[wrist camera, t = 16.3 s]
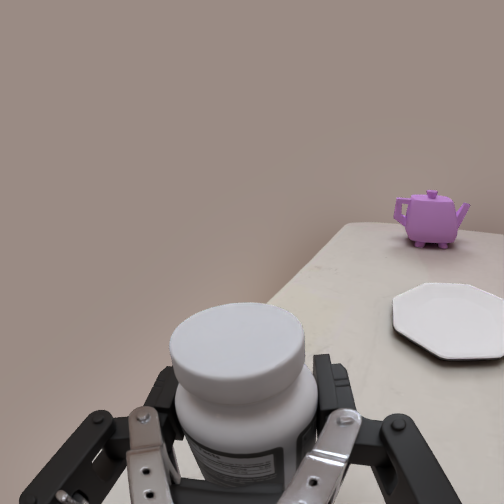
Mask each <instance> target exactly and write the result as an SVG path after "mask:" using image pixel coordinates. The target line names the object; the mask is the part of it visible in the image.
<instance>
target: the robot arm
mask: <svg viewBox="0 0 504 504" xmlns="http://www.w3.org/2000/svg"><path fill="white" fill-rule="evenodd" d="M313 376H314V378H315V380H316V384H317V389H318V415H317V438H318V439H317V441H316V443H315V445H314V447H313V449H312V450H311V452H310V451H308V452H307V453H306V455H305V457H304V458H303V460H302V462H301V464H300V465H299V467H298V469H297V471H296V472H295V474H294V476H293V478H292V479H291V481H290V483H289V484H288V486H287V488H286V489H285V490H283V484H252V485H246V486H240V487H233V488H228V487H224V486H221V485H218V484H215V483H211V482H208V481H205V480H197V479H189V478H182V477H181V475H180V471H179V467H178V463H177V459H176V455H175V450H174V447H173V443H174V440H181V441H183V438H184V435H185V434H184V432H183V430H182V427H181V425H180V422H179V419H178V416H177V413H176V408H175V395H176V391H177V387H178V385H179V382H178V380H177V378H176V376H175V372H174V368H173V365H172V367H170V366H167V367H166V368H165V369H163V370H162V371H161V372H160V374H159V375H158V377H157V379H156V382H155V384H154V387H152V389H151V392H150V393H149V395H148V397H147V400H146V402H145V404H144V405H143V406H142V407H138V408H136V409H134V410H133V411H132V412H131V413H130V415H129V416H128V417H118V418H113V417H112V415H111V414H110V413H109V412H108V411H105V410H98V411H94V412H92V413H91V414H89V415H88V417H87V418H86V419H85V420H84V421H83V422H82V423H81V425H80V426H79V427H78V428H77V429H76V430H75V432H74V433H73V434H72V435H71V436H70V437H69V438H68V440H67V441H66V442H65V443H64V444H63V445H62V447H61V448H60V449H59V450H58V451H57V453H56V454H55V455H54V456H53V457H52V458H51V460H50V461H49V462H48V463H47V464H46V465H45V467H44V468H43V469H42V470H41V471H40V472H39V474H38V475H37V476H36V477H35V478H34V479H33V481H32V482H31V483H30V484H29V485H28V487H27V488H26V489H25V490H24V491H23V492H22V494H21V496H20V498H19V504H101V503H102V502H103V500H104V499H105V497H106V496H107V495H108V493H109V492H110V490H111V489H112V487H113V486H114V484H115V483H116V481H117V480H118V478H119V477H120V475H121V474H122V472H123V471H124V469H125V468H126V466H127V471H128V481H129V490H130V498H131V504H334V502H335V500H336V497H337V495H338V492H339V490H340V487H341V485H342V483H343V481H344V478H345V476H346V474H347V471H348V469H349V466H350V464H359V465H367V466H371V469H372V471H373V473H374V476H375V478H376V481H377V483H378V485H379V488H380V490H381V493H382V495H383V497H384V500H385V502H386V504H462V503H461V501H460V499H459V497H458V496H457V494H456V492H455V490H454V489H453V487H452V485H451V483H450V482H449V480H448V478H447V476H446V475H445V473H444V471H443V469H442V468H441V466H440V464H439V463H438V461H437V459H436V458H435V456H434V454H433V453H432V451H431V449H430V448H429V446H428V444H427V443H426V441H425V439H424V438H423V436H422V434H421V433H420V431H419V429H418V428H417V426H416V425H415V423H414V421H413V420H412V419H411V418H410V417H409V416H407V415H404V414H392V415H389V416H387V417H386V418H385V419H384V420H383V421H377V420H370V419H366V418H364V417H363V416H361V415H360V414H359V413H358V412H357V410H356V407H355V402H354V398H353V394H352V390H351V386H350V382H349V377H348V373H347V370H346V369H345V368H344V367H343V366H342V364H341V363H340V364H331V361H330V356H329V354H321V355H314V356H313ZM101 449H102V451H101V452H100V454H99V455H98V456H97V458H96V459H95V460H94V462H93V463H92V461H93V459H94V458H95V457H96V455H97V454H98V453H99V451H100V450H101Z"/></svg>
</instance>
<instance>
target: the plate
mask: <svg viewBox="0 0 504 504" xmlns="http://www.w3.org/2000/svg"><path fill="white" fill-rule="evenodd" d="M392 304H393V328H394V329H395V331H396V332H397V333H399V334H400V335H402V336H403V337H405V338H407V339H408V340H410V341H412V342H413V343H415V344H416V345H418V346H420V347H421V348H423V349H424V350H426V351H428V352H429V353H431V354H432V355H434V356H436V357H437V358H439V359H442V360H447V361H453V360H495V359H500V358H502V357H504V299H502V298H500V297H497V296H495V295H493V294H491V293H488V292H486V291H484V290H481V289H479V288H476V287H474V286H472V285H468V284H454V283H423V284H421V285H419V286H417V287H414V288H412V289H410V290H408V291H406V292H404V293H402V294H400V295H397V296H395V297H394V298H393V300H392Z"/></svg>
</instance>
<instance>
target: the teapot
mask: <svg viewBox="0 0 504 504" xmlns="http://www.w3.org/2000/svg"><path fill="white" fill-rule="evenodd" d="M426 192H427V195H412V196H411V198H397V199H396V205H395V211H394V219H396V220H397V221H398V222H399V223H401V224H402V225H403V226H405V229H406V232H407V235H408V237H409V239H410V240H413V241H416V243H415V245H414V246H416V247H424V245H425V242H430V243H438V247H440V248H444V249H446V248H448V246H447V243H452V242H454V240H455V238H456V236H457V231H458V228H459V226H460V224H461V222H462V221H463V219H464V217H465V215H466V213H467V211H468V209H469V207H470V204H467V203H463V205H462V206H461V207H460V209H459V210H458V211H457V212H456V211H455V206H454V203H453V201H452V200H451V199H450V198H448V197H446V196H437V193H438V192H437V191H435V190H427V191H426ZM402 203H404V204H408V208H407V212H406V217H405V216H404V215H402V214H401V209H402Z"/></svg>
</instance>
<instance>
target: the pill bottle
mask: <svg viewBox="0 0 504 504" xmlns="http://www.w3.org/2000/svg"><path fill="white" fill-rule="evenodd" d="M169 349H170V355H171V359H172V364H173V368H174V372H175V376H176V378H177V380H178V382H179V385H178V387H177V391H176V395H175V408H176V413H177V416H178V419H179V422H180V425H181V427H182V430H183V432H184V434H185V437H186V439H187V441H188V444H189V446H190V448H191V450H192V453H193V455H194V457H195V459H196V461H197V464H198V466H199V468H200V470H201V472H202V474H203V477H204V479H205V481H208V482H211V483H215V484H218V485H221V486H224V487H228V488H233V487H240V486H246V485H252V484H283V490H285V489H286V488H287V486H288V484H289V483H290V481H291V479H292V478H293V476H294V474H295V472H296V471H297V469H298V467H299V465H300V464H301V462H302V460H303V458H304V457H305V455H306V453H307V452H308V451H310V452H311V450H312V449H313V447H314V445H315V443H316V429H317V415H318V389H317V384H316V380H315V378H314V376H313V374H312V372H311V371H310V369H309V368H308V367H307V366H306V365H305V364H304V362H305V336H304V330H303V327H302V325H301V323H300V321H299V320H298V319H297V318H296V317H295V316H294V315H293V314H292V313H290V312H289V311H287V310H285V309H283V308H280V307H277V306H273V305H269V304H263V303H252V302H251V303H250V302H249V303H247V302H244V303H232V304H225V305H221V306H216V307H212V308H209V309H206V310H203V311H201V312H199V313H196V314H194V315H192V316H191V317H189V318H187V319H186V320H185V321H183V322H182V323H181V324H180V325H179V326H178V327H177V328H176V329H175V331H174V332H173V334H172V336H171V338H170V343H169Z"/></svg>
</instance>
